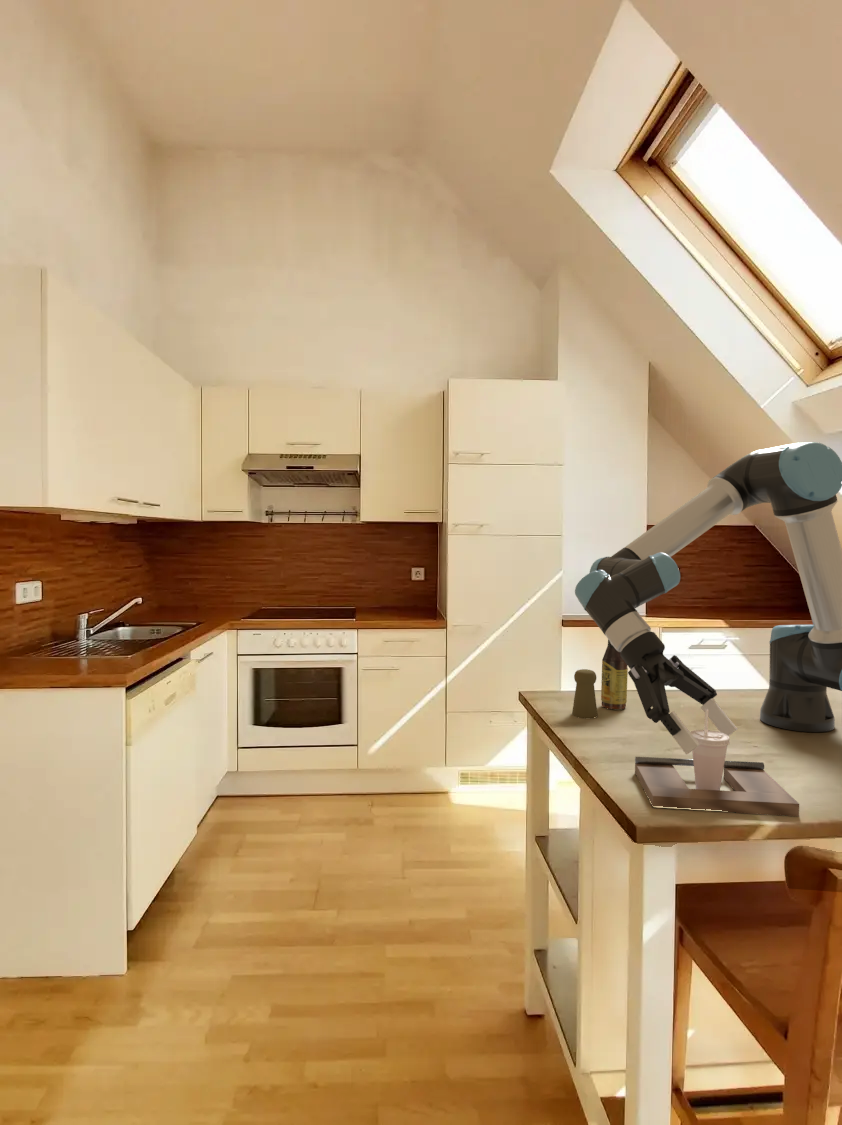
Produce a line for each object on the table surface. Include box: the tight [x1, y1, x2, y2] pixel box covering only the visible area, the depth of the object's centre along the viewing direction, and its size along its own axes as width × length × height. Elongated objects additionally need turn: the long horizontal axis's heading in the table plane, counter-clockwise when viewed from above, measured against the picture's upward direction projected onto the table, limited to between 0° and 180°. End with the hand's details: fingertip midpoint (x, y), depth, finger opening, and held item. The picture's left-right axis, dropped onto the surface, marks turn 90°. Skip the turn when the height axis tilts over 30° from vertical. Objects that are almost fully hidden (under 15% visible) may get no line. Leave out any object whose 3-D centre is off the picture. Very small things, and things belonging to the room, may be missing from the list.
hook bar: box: [634, 756, 765, 771], centre depth 122 cm, size 22×1×1 cm, turn 82°
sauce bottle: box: [600, 639, 629, 710], centre depth 170 cm, size 7×6×20 cm
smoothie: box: [690, 709, 731, 790], centre depth 116 cm, size 6×6×14 cm
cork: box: [571, 668, 598, 719], centre depth 164 cm, size 6×6×11 cm
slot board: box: [634, 762, 800, 817], centre depth 115 cm, size 22×16×2 cm
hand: (713, 741), depth 115 cm, fingers open, 13 cm apart
